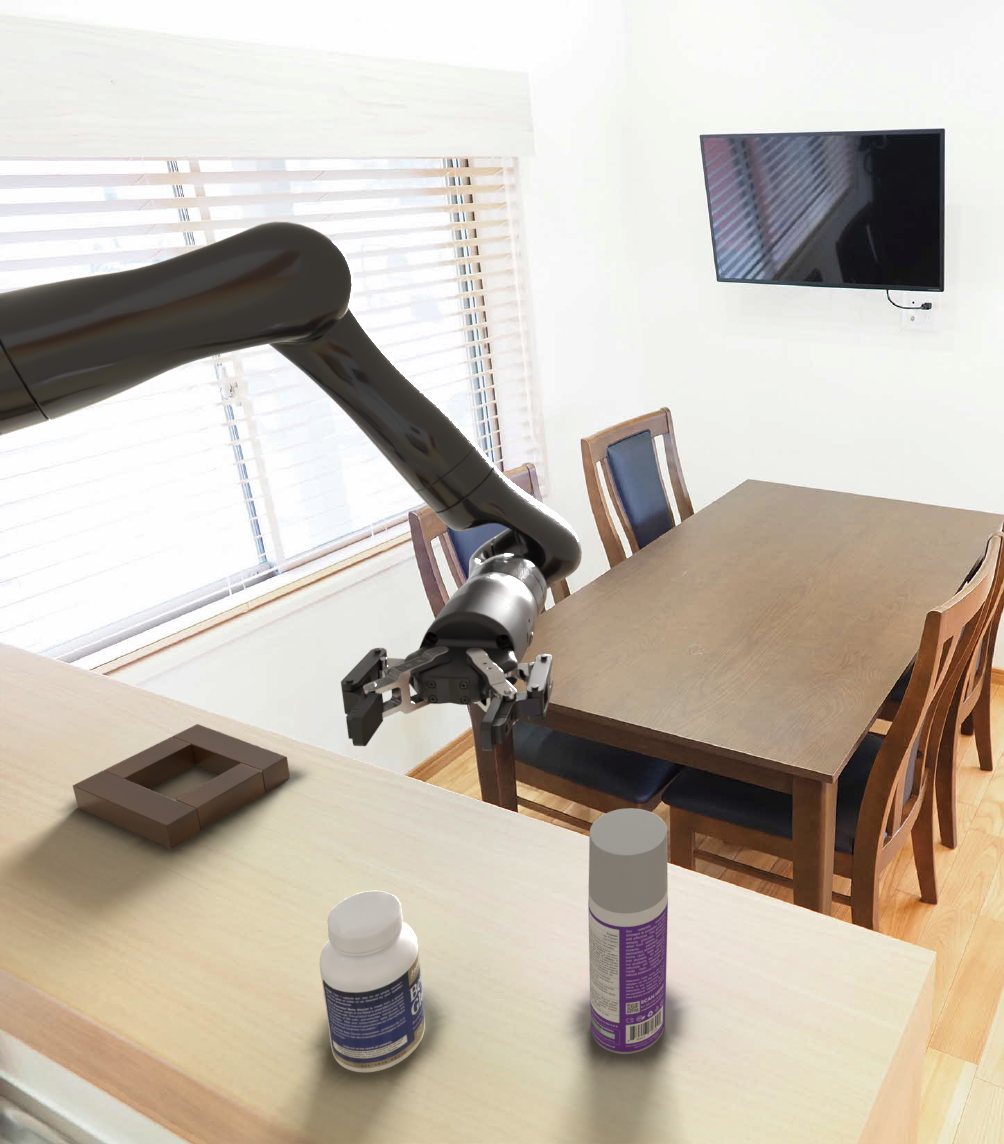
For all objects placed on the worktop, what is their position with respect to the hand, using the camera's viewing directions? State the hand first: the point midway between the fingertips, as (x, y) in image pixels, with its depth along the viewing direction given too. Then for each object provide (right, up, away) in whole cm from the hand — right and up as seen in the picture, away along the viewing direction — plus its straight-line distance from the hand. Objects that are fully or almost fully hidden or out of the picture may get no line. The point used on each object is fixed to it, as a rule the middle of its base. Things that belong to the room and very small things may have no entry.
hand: (421, 737), depth 64 cm
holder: (-25, -8, +16) cm, 31 cm away
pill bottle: (-1, -18, -5) cm, 19 cm away
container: (+14, -18, -3) cm, 23 cm away
